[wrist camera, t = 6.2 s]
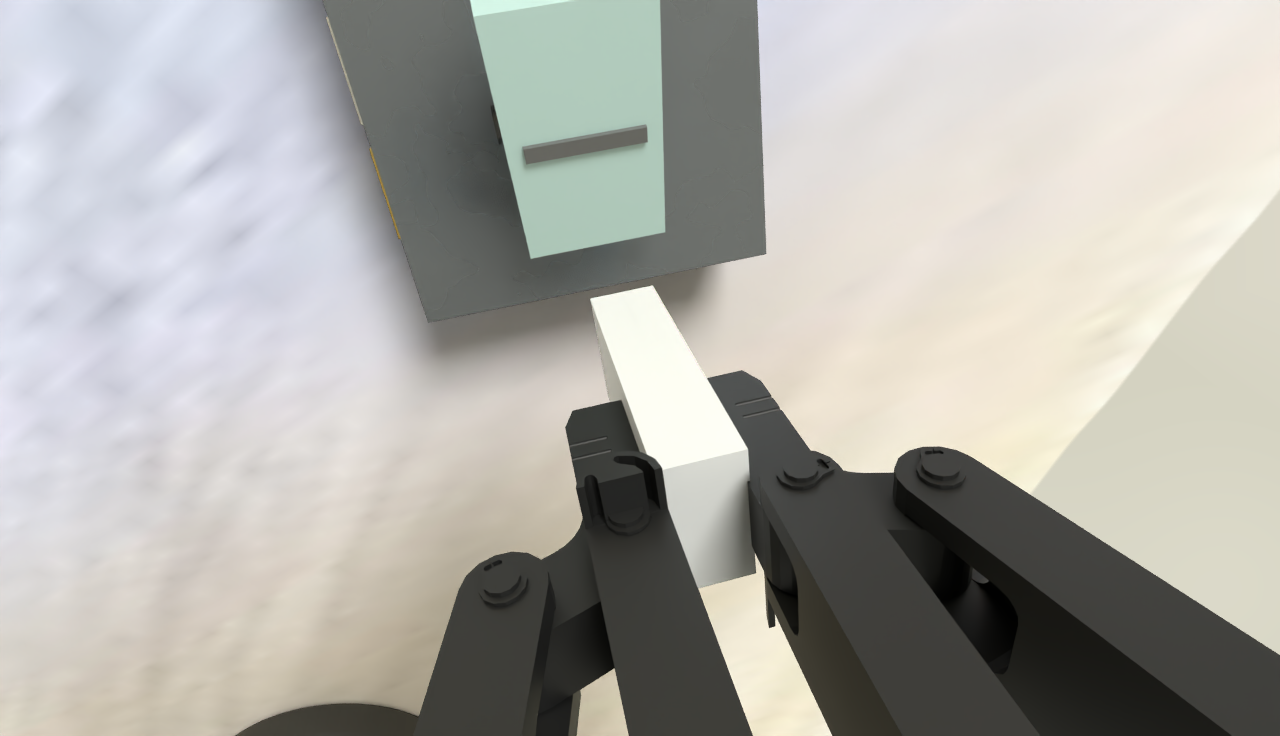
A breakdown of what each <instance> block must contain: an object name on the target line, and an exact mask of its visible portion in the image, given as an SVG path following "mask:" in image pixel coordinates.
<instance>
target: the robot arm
mask: <svg viewBox="0 0 1280 736" xmlns="http://www.w3.org/2000/svg"><path fill="white" fill-rule="evenodd" d="M590 301H591V306H592V312H593V317H594V322H595V328H596V333H597V338H598V344H599V349H600V355H601V360H602V365H603V371H604V376H605V381H606V387H607V392H608V397H609V400H610V402H609V403H605V404H600V405H596V406H592V407H587V408H583V409H578V410H574V411H572V413H571V416H570V418H569V420H568V423H567V425H566V427H565V428H566V433H567V438H568V443H569V448H570V453H571V457H572V462H573V467H574V472H575V477H576V482H577V485H576V490H577V494H578V499H579V503H580V507H581V512H582V516H583V520H582V523H581V526H580V529H579V530H578V532H577V533H576V535H575V536H574V538H573V539H572V540H571V541H570V542H569V543H568V544H566V545H565V546H564V547H563V548H561V549H559V550H558V551H556V552H555V553H553V554H551V555H549V556H548V557H546V558H544V559H542V560H540V559H539V558H537V557H535V556H533V555H531V554H529V553H521V552H509V553H504V554H500V555H495V556H493V557H491V558H489V559H487V560H486V561H484V562H482V563H480V564H478V565H477V566H476V567H475V568H474V569H473V570H472V571H471V572H470V573H469V574H468V575H467V576H466V577H465V579H464V581H463V583H462V585H461V587H460V588H459V591H458V594H457V597H456V601H455V604H454V607H453V610H452V613H451V616H450V620H449V623H448V626H447V629H446V632H445V635H444V639H443V642H442V645H441V648H440V651H439V655H438V658H437V661H436V664H435V667H434V670H433V674H432V677H431V680H430V683H429V686H428V689H427V693H426V696H425V699H424V702H423V705H422V709H421V712H420V715H419V718H418V717H416V716H414V715H411V714H408V713H405V712H402V711H399V710H395V709H391V708H386V707H380V706H373V705H363V704H332V705H321V706H314V707H308V708H302V709H298V710H294V711H290V712H286V713H283V714H279V715H276V716H273V717H271V718H268V719H266V720H263V721H261V722H259V723H257V724H255V725H253V726H251V727H249V728H247V729H245V730H244V731H242V732H240V733H239V734H238V735H236V736H576V735H577V726H578V717H579V707H580V698H581V692H580V690H581V689H582V688H584V687H585V686H587V685H589V684H590V683H592V682H593V681H595V680H596V679H598V678H600V677H601V676H603V675H604V674H606V673H608V672H609V671H611V670H612V669H614V668H615V672H616V676H617V681H618V686H619V691H620V695H621V700H622V705H623V710H624V714H625V719H626V724H627V729H628V733H629V736H753V735H752V732H751V730H750V727H749V724H748V722H747V719H746V716H745V713H744V711H743V708H742V705H741V703H740V700H739V697H738V695H737V692H736V689H735V687H734V684H733V681H732V679H731V676H730V673H729V671H728V668H727V665H726V662H725V660H724V657H723V654H722V652H721V649H720V646H719V644H718V641H717V638H716V636H715V633H714V630H713V628H712V625H711V622H710V619H709V617H708V614H707V611H706V609H705V606H704V603H703V601H702V598H701V595H700V593H699V590H698V588H702V587H705V586H709V585H713V584H717V583H721V582H724V581H728V580H732V579H736V578H740V577H743V576H747V575H751V574H755V573H756V566H755V554H756V556H757V558H758V560H759V562H760V564H761V566H762V568H763V570H764V575H765V593H766V611H767V620H768V625H769V628H771V627H775V615H776V617H777V619H778V621H779V623H780V625H781V627H782V630H783V632H784V634H785V636H786V638H787V640H788V642H789V644H790V647H791V649H792V651H793V653H794V655H795V657H796V659H797V661H798V664H799V666H800V668H801V670H802V672H803V674H804V676H805V678H806V681H807V683H808V685H809V687H810V689H811V691H812V693H813V695H814V698H815V700H816V702H817V704H818V706H819V708H820V710H821V712H822V715H823V717H824V719H825V721H826V723H827V725H828V727H829V729H830V732H831V734H832V736H1280V655H1279V654H1277V653H1276V652H1274V651H1272V650H1271V649H1269V648H1268V647H1266V646H1264V645H1263V644H1262V643H1260V642H1258V641H1257V640H1255V639H1254V638H1252V637H1251V636H1249V635H1248V634H1246V633H1244V632H1243V631H1241V630H1240V629H1238V628H1237V627H1235V626H1233V625H1232V624H1230V623H1229V622H1227V621H1226V620H1224V619H1223V618H1221V617H1219V616H1218V615H1216V614H1215V613H1213V612H1212V611H1210V610H1209V609H1207V608H1205V607H1204V606H1202V605H1201V604H1199V603H1198V602H1196V601H1195V600H1193V599H1191V598H1190V597H1188V596H1187V595H1185V594H1184V593H1182V592H1180V591H1179V590H1178V589H1176V588H1174V587H1173V586H1171V585H1170V584H1168V583H1167V582H1165V581H1164V580H1162V579H1160V578H1159V577H1157V576H1156V575H1154V574H1153V573H1151V572H1149V571H1148V570H1146V569H1145V568H1143V567H1142V566H1140V565H1139V564H1137V563H1135V562H1134V561H1132V560H1131V559H1129V558H1128V557H1126V556H1125V555H1123V554H1122V553H1120V552H1118V551H1117V550H1115V549H1113V548H1112V547H1111V546H1109V545H1108V544H1106V543H1104V542H1103V541H1101V540H1100V539H1098V538H1096V537H1095V536H1093V535H1092V534H1090V533H1089V532H1087V531H1086V530H1084V529H1083V528H1081V527H1079V526H1078V525H1076V524H1075V523H1073V522H1072V521H1070V520H1069V519H1067V518H1066V517H1064V516H1062V515H1061V514H1059V513H1058V512H1056V511H1055V510H1053V509H1052V508H1050V507H1048V506H1047V505H1045V504H1044V503H1042V502H1041V501H1039V500H1038V499H1036V498H1034V497H1033V496H1031V495H1030V494H1028V493H1027V492H1025V491H1024V490H1022V489H1020V488H1019V487H1017V486H1016V485H1014V484H1013V483H1011V482H1010V481H1008V480H1006V479H1005V478H1003V477H1002V476H1000V475H999V474H997V473H996V472H994V471H992V470H991V469H989V468H988V467H986V466H985V465H983V464H982V463H980V462H978V461H977V460H975V459H974V458H972V457H970V456H968V455H966V454H964V453H962V452H959V451H957V450H953V449H948V448H944V447H921V448H917V449H914V450H910V451H908V452H906V453H905V454H904V455H902V456H901V457H900V458H898V461H897V463H896V466H895V468H894V473H855V472H848V471H843V470H842V468H841V467H840V466H839V465H838V464H837V463H836V462H835V461H834V460H833V459H831V458H830V457H828V456H826V455H824V454H821V453H819V452H816V451H810V449H809V448H808V447H807V445H806V444H805V442H804V441H803V439H802V438H801V437H800V435H799V434H798V432H797V431H796V430H795V428H794V427H793V425H792V424H791V423H790V421H789V420H788V418H787V417H786V416H785V414H784V413H783V411H782V410H780V408H779V406H778V404H777V403H776V402H775V400H774V399H773V398H772V397H771V394H770V393H769V392H768V390H767V389H766V387H765V386H764V385H763V383H762V382H761V381H760V380H758V379H757V378H755V377H753V376H751V375H749V374H748V373H746V372H744V371H742V370H741V371H737V372H733V373H728V374H724V375H720V376H715V377H711V378H706V376H705V374H704V373H703V371H702V369H701V367H700V366H699V364H698V362H697V361H696V359H695V357H694V355H693V354H692V352H691V350H690V349H689V347H688V345H687V343H686V342H685V340H684V338H683V337H682V335H681V333H680V331H679V330H678V328H677V326H676V325H675V323H674V321H673V319H672V318H671V316H670V314H669V312H668V311H667V309H666V307H665V306H664V304H663V302H662V300H661V299H660V297H659V295H658V294H657V292H656V290H655V288H654V287H653V285H652V286H648V287H643V288H638V289H633V290H629V291H624V292H619V293H614V294H610V295H605V296H600V297H595V298H591V299H590Z"/></svg>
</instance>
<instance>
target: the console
mask: <svg viewBox="0 0 1280 736" xmlns="http://www.w3.org/2000/svg"><path fill="white" fill-rule="evenodd" d="M323 3H324V6H325V9H326V12H327V15H328V17H326V20H327V23H328V26H329V29H330V32H331V35H332V38H333V41H334V44H335V47H336V50H337V53H338V56H339V59H340V62H341V65H342V68H343V71H344V74H345V77H346V80H347V83H348V86H349V89H350V92H351V95H352V98H353V101H354V105H355V108H356V111H357V114H358V117H359V120H360V123H361V125H364V128H365V131H366V134H367V137H368V140H369V143H370V149H369V150H370V153H371V156H372V159H373V162H374V165H375V168H376V171H377V174H378V177H379V180H380V183H381V186H382V189H383V193H384V196H385V199H386V202H387V205H388V208H389V211H390V214H391V217H392V220H393V223H394V226H395V229H396V232H397V235H398V238H399V239H401V241H402V244H403V247H404V250H405V253H406V256H407V259H408V262H409V265H410V268H411V272H412V275H413V278H414V281H415V284H416V287H417V290H418V293H419V296H420V299H421V302H422V305H423V308H424V311H425V314H426V317H427V320H428V323H430V322H435V321H440V320H444V319H449V318H454V317H459V316H464V315H469V314H474V313H479V312H484V311H489V310H494V309H499V308H503V307H508V306H513V305H518V304H523V303H528V302H533V301H538V300H543V299H548V298H553V297H558V296H562V295H567V294H572V293H577V292H582V291H587V290H592V289H597V288H602V287H607V286H612V285H617V284H621V283H626V282H631V281H636V280H641V279H646V278H651V277H656V276H661V275H666V274H671V273H676V272H680V271H685V270H690V269H695V268H700V267H705V266H710V265H715V264H720V263H725V262H730V261H735V260H739V259H744V258H749V257H754V256H759V255H764V254H766V234H765V206H764V178H763V150H762V123H761V95H760V67H759V39H758V11H757V0H660V23H661V66H662V110H663V153H664V197H665V232H664V233H659V234H654V235H649V236H644V237H639V238H633V239H628V240H623V241H618V242H613V243H608V244H603V245H598V246H593V247H588V248H583V249H578V250H573V251H568V252H562V253H557V254H552V255H547V256H542V257H537V258H532V259H531V257H530V253H529V249H528V245H527V241H526V236H525V232H524V228H523V224H522V220H521V215H520V211H519V207H518V203H517V199H516V194H515V190H514V186H513V182H512V178H511V173H510V169H509V165H508V161H507V157H506V152H505V148H504V144H503V140H502V136H501V131H500V127H499V123H498V119H497V115H496V110H495V106H494V102H493V98H492V94H491V89H490V85H489V81H488V77H487V73H486V68H485V64H484V60H483V56H482V52H481V47H480V43H479V39H478V35H477V31H476V26H475V22H474V18H473V13H472V7H471V2H470V0H323Z"/></svg>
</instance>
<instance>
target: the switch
mask: <svg viewBox="0 0 1280 736" xmlns="http://www.w3.org/2000/svg"><path fill="white" fill-rule="evenodd" d="M470 2H471V7H472V13H473V18H474V22H475V26H476V31H477V35H478V39H479V43H480V47H481V52H482V56H483V60H484V64H485V68H486V73H487V77H488V81H489V85H490V89H491V94H492V98H493V102H494V106H495V110H496V115H497V119H498V123H499V127H500V131H501V136H502V140H503V144H504V148H505V152H506V157H507V161H508V165H509V169H510V173H511V178H512V182H513V186H514V190H515V194H516V199H517V203H518V207H519V211H520V215H521V220H522V224H523V228H524V232H525V236H526V241H527V245H528V249H529V253H530V257H531V259H532V258H537V257H542V256H547V255H552V254H557V253H562V252H568V251H573V250H578V249H583V248H588V247H593V246H598V245H603V244H608V243H613V242H618V241H623V240H628V239H633V238H639V237H644V236H649V235H654V234H659V233H664V232H665V197H664V153H663V110H662V66H661V23H660V0H470Z"/></svg>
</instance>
